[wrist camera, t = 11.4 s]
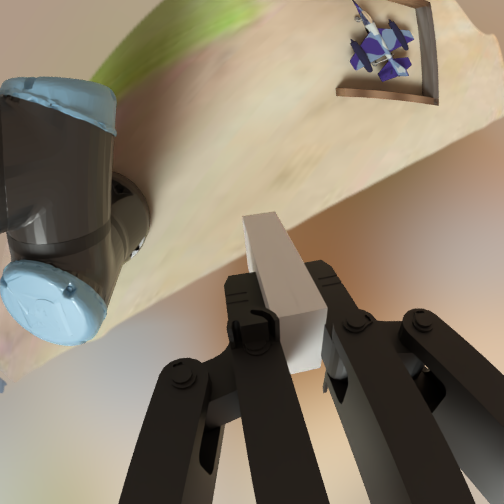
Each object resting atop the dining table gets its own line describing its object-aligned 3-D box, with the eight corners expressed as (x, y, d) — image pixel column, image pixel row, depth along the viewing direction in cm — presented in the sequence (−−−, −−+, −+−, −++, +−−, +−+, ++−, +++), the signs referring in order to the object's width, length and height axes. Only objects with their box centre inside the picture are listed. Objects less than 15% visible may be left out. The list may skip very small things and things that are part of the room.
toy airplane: (335, -9, 28) (345, -15, 25) (408, 27, 31) (421, 25, 28) (319, 61, 34) (329, 59, 31) (395, 91, 37) (408, 93, 34)
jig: (336, 95, 37) (345, 96, 35) (324, -18, 27) (332, -24, 24) (427, 103, 39) (438, 105, 36) (419, 4, 29) (430, 2, 26)
